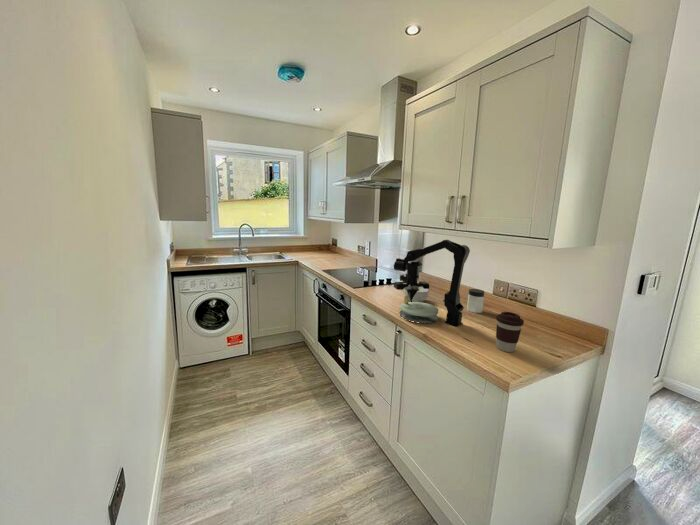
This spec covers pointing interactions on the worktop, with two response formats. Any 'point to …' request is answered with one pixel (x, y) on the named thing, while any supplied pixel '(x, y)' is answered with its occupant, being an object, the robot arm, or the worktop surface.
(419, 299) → the paper bowls
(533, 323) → the worktop surface
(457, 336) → the worktop surface
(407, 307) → the handwheel
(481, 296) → the jar
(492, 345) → the worktop surface
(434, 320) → the grey metal shallow dish
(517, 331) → the coffee cup
